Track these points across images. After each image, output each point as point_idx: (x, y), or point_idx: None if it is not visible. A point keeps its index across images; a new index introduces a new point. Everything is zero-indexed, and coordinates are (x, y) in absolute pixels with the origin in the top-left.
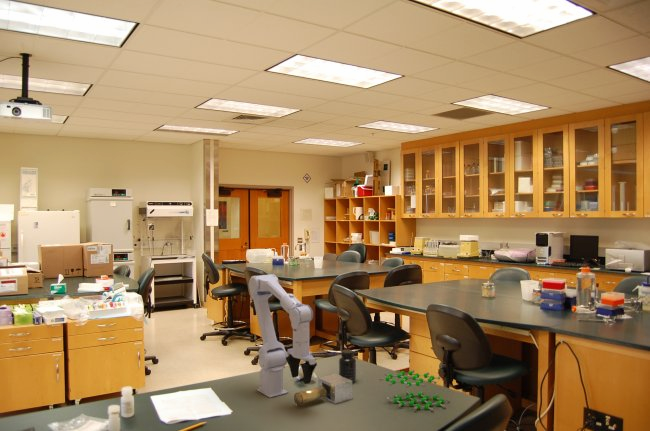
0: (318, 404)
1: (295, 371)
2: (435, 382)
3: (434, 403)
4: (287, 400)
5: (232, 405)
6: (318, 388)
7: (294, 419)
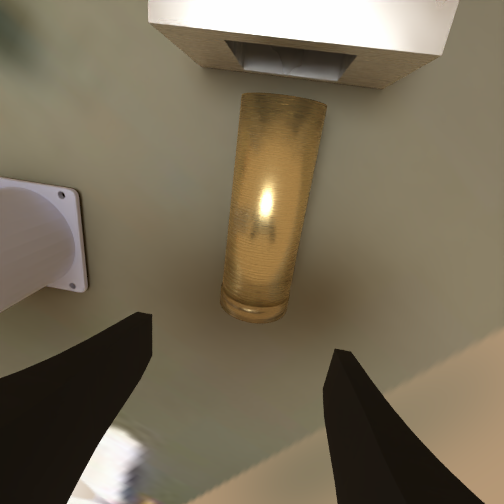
0: None
1: (123, 371)
2: None
3: None
4: (158, 253)
5: None
6: (285, 158)
7: None
